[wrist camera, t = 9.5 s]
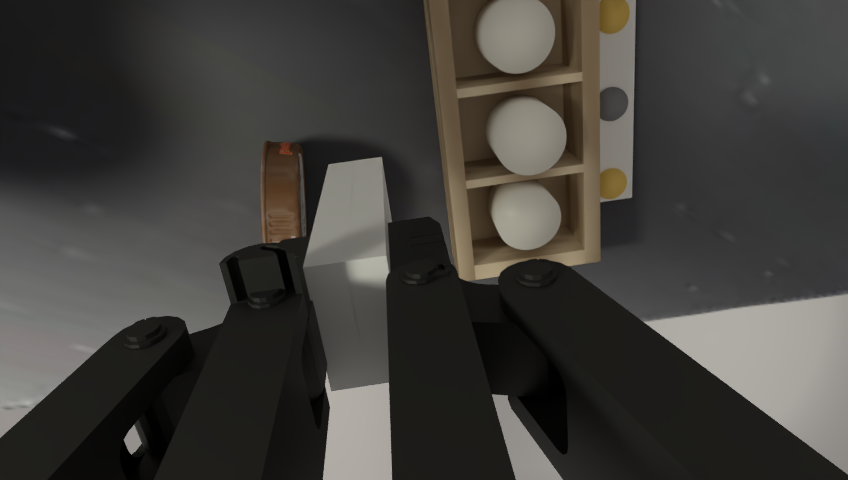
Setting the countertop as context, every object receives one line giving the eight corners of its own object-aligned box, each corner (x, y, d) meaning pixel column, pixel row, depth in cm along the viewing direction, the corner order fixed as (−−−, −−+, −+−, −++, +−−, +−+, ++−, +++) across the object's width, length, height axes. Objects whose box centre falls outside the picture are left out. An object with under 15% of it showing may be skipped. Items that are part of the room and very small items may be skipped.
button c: (475, 70, 43) (485, 78, 39) (469, -1, 41) (478, 1, 37) (541, 61, 43) (556, 68, 39) (538, -10, 41) (553, -10, 38)
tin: (269, 128, 45) (247, 158, 37) (311, 130, 45) (298, 160, 38) (278, 302, 51) (261, 359, 43) (315, 302, 51) (304, 359, 44)
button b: (488, 164, 44) (497, 180, 40) (482, 99, 42) (492, 109, 38) (552, 155, 44) (567, 170, 40) (549, 89, 42) (565, 99, 38)
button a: (490, 234, 48) (499, 254, 45) (485, 178, 46) (494, 194, 43) (548, 226, 48) (562, 245, 45) (546, 169, 46) (559, 184, 43)
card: (587, 202, 49) (589, 204, 49) (585, -4, 43) (587, -4, 42) (630, 196, 49) (632, 198, 49) (633, -11, 43) (636, -11, 43)
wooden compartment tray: (452, 254, 50) (460, 281, 46) (419, -28, 42) (425, -29, 37) (580, 236, 51) (600, 261, 46) (574, -49, 42) (599, -53, 37)
